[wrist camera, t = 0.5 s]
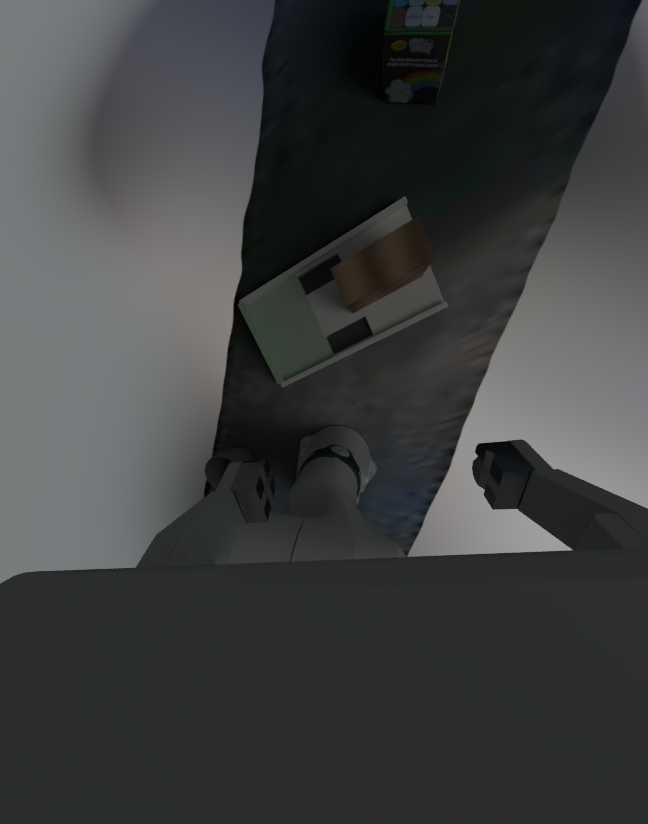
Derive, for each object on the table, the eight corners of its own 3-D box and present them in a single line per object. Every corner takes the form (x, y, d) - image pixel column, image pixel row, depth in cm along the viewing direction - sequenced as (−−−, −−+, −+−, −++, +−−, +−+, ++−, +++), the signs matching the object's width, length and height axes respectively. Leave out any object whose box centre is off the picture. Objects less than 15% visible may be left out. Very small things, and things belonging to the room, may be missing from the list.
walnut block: (409, 245, 49) (418, 215, 38) (421, 276, 50) (434, 257, 39) (340, 284, 53) (330, 268, 42) (353, 313, 54) (346, 305, 43)
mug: (228, 437, 68) (204, 451, 59) (260, 444, 67) (242, 460, 58) (225, 479, 71) (203, 499, 62) (256, 487, 70) (238, 508, 61)
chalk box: (452, 33, 42) (489, -121, 28) (436, 106, 45) (463, -1, 31) (393, 32, 44) (400, -114, 30) (381, 104, 46) (382, -1, 32)
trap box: (403, 204, 49) (406, 191, 45) (444, 308, 52) (450, 305, 48) (245, 302, 59) (235, 299, 55) (286, 385, 62) (280, 388, 58)
